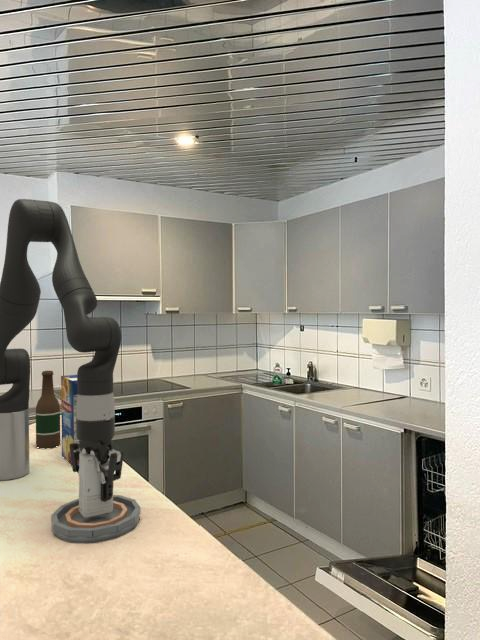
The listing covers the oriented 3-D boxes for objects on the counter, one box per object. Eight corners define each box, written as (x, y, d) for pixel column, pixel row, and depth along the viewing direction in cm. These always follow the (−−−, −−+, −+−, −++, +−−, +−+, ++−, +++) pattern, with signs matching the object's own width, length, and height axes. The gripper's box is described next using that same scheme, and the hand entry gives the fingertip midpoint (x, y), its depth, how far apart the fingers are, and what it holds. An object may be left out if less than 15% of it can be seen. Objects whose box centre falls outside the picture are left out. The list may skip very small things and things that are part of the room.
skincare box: (84, 519, 95) (84, 458, 94) (77, 510, 98) (77, 452, 98) (114, 511, 98) (114, 453, 98) (107, 504, 102) (107, 447, 101)
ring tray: (34, 528, 96) (34, 516, 95) (101, 499, 110) (101, 489, 110) (91, 551, 86) (91, 538, 86) (156, 517, 101) (156, 505, 100)
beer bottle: (55, 449, 149) (54, 372, 149) (30, 449, 150) (29, 372, 149) (65, 442, 157) (64, 369, 157) (41, 442, 157) (40, 369, 157)
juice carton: (61, 456, 142) (60, 375, 142) (87, 452, 147) (86, 373, 146) (73, 467, 132) (72, 380, 132) (99, 462, 137) (99, 378, 136)
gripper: (57, 414, 98) (58, 495, 99) (105, 423, 90) (106, 511, 91) (87, 407, 105) (87, 484, 105) (134, 415, 97) (134, 498, 97)
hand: (96, 496), depth 98 cm, fingers closed on skincare box, 5 cm apart
